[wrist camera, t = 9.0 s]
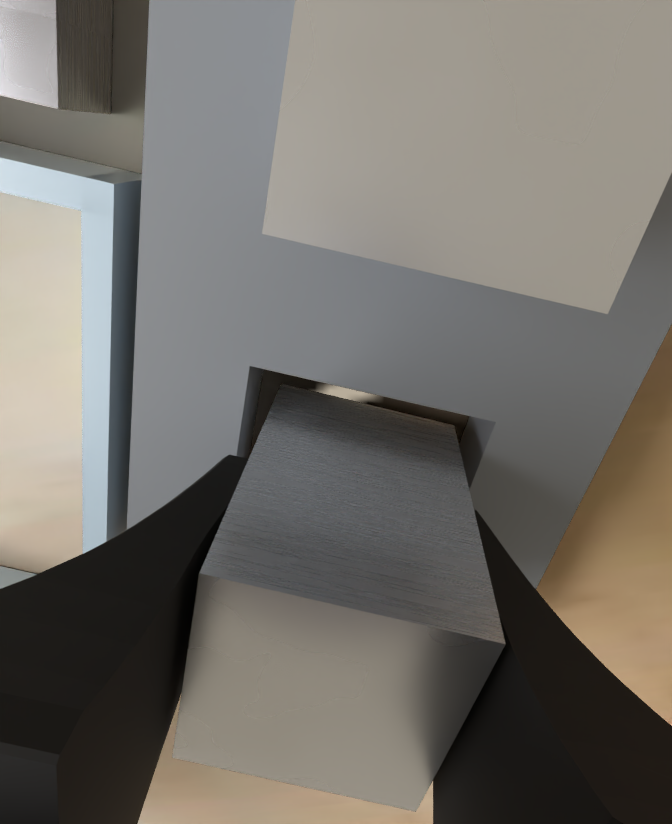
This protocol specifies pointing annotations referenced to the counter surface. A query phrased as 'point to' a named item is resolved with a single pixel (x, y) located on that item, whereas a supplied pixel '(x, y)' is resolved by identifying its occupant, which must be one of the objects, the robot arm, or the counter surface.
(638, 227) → the block
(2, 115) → the counter surface
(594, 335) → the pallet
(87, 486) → the light blue rectangular frame
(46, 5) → the button housing
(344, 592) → the billet
